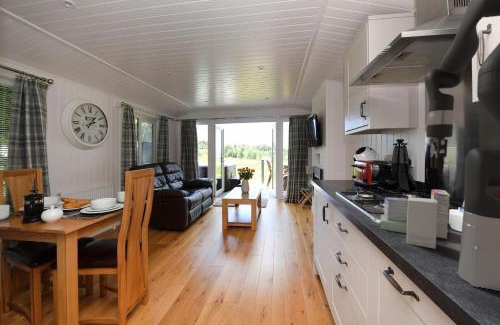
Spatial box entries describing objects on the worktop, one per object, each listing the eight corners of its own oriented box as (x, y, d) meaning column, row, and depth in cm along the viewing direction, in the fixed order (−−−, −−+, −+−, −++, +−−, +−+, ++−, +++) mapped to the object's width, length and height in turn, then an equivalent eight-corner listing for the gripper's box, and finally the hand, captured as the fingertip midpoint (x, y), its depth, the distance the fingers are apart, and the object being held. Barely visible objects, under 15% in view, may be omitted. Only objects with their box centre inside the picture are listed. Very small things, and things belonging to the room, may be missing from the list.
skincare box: (434, 243, 83) (437, 199, 82) (435, 250, 77) (439, 203, 76) (405, 237, 87) (408, 196, 86) (405, 243, 82) (408, 199, 81)
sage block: (409, 235, 91) (410, 225, 91) (380, 230, 97) (380, 220, 96) (408, 227, 100) (408, 218, 100) (381, 223, 105) (381, 214, 105)
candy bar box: (428, 228, 98) (431, 188, 97) (443, 230, 96) (446, 190, 94) (430, 236, 89) (434, 193, 88) (448, 239, 86) (451, 195, 85)
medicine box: (404, 218, 99) (405, 198, 99) (408, 222, 95) (410, 200, 94) (383, 217, 101) (384, 197, 100) (387, 220, 97) (388, 199, 96)
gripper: (458, 121, 79) (455, 170, 80) (447, 125, 91) (444, 167, 92) (430, 122, 83) (427, 168, 83) (424, 126, 95) (421, 166, 96)
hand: (436, 168), depth 88 cm, fingers open, 8 cm apart
